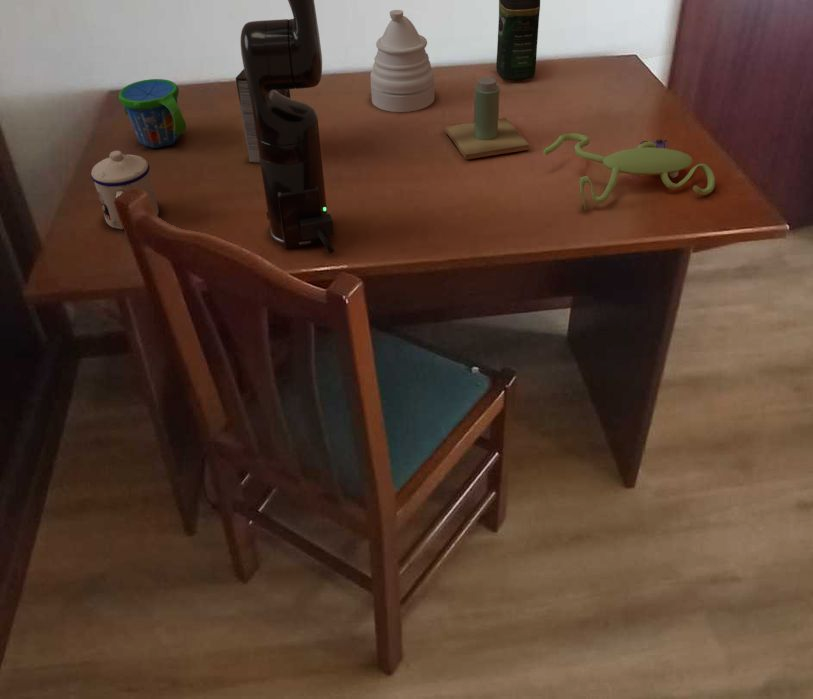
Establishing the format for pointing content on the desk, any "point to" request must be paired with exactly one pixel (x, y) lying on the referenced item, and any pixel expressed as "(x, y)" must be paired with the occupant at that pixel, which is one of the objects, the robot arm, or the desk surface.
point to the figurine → (637, 164)
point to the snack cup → (153, 111)
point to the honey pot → (401, 68)
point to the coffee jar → (517, 39)
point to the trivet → (477, 148)
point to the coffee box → (250, 115)
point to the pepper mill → (486, 109)
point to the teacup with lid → (121, 182)
